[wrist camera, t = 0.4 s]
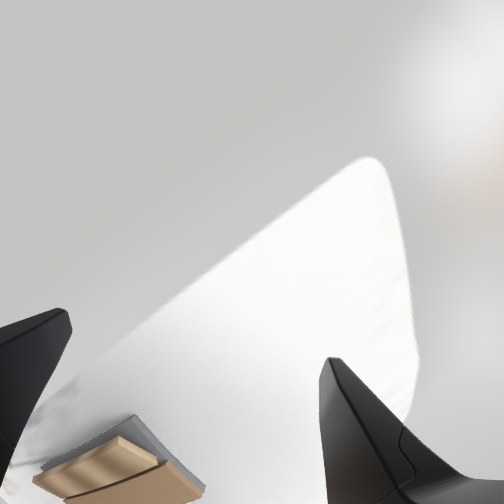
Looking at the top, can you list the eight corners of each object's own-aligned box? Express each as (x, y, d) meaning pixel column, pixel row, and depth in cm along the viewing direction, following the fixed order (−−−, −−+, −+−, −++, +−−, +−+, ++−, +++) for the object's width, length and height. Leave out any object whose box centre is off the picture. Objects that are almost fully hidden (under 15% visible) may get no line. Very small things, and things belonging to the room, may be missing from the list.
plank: (118, 435, 18) (118, 444, 17) (156, 456, 19) (157, 464, 18) (33, 476, 16) (32, 482, 15) (62, 492, 18) (61, 498, 17)
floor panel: (135, 414, 21) (126, 423, 19) (205, 485, 20) (201, 498, 18) (45, 463, 20) (36, 470, 18) (96, 518, 19) (90, 526, 17)
